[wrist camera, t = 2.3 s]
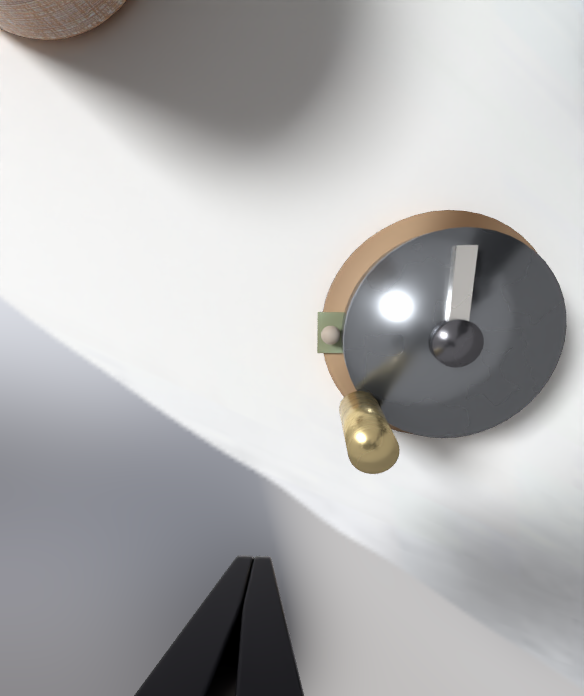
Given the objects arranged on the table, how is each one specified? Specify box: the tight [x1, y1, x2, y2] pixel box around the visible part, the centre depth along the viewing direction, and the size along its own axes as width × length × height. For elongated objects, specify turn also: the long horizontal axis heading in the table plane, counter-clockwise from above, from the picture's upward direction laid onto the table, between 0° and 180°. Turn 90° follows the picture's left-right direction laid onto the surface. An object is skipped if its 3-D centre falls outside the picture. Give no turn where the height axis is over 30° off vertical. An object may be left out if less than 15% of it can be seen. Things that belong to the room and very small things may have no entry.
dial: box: [339, 227, 566, 474], centre depth 13 cm, size 9×9×5 cm
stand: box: [317, 210, 537, 434], centre depth 16 cm, size 11×11×2 cm
